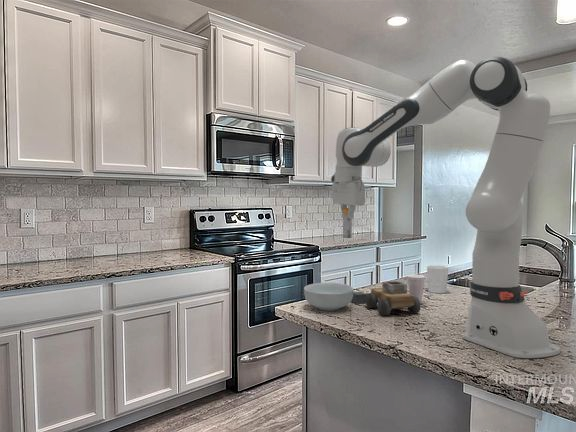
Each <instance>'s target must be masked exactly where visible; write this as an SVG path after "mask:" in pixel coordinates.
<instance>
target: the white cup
mask: <svg viewBox="0 0 576 432" xmlns="http://www.w3.org/2000/svg"><path fill="white" fill-rule="evenodd" d="M448 275H449V267H448V266H445V265H440V264H439V265H436V264H435V265H434V264H433V265H427V266H426V276H427V277H426V278H427V286H428V287H427V289H428V290H427V291H428V293H431V294H446V293H447V290H448V289H447V288H448V287H447V286H448V278H449V276H448Z"/></svg>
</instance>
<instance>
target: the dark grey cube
mask: <svg viewBox="0 0 576 432" xmlns="http://www.w3.org/2000/svg"><path fill="white" fill-rule="evenodd" d="M366 294H367V293H366V292H363V291H353V298H352V300H351V302H352V303H353V304H355V305H366V303H365V296H366Z"/></svg>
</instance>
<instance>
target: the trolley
mask: <svg viewBox="0 0 576 432" xmlns="http://www.w3.org/2000/svg"><path fill="white" fill-rule="evenodd" d="M381 284H382V287H376V288H374V287H373V288H371V289H370V290H371V291H370V292H368V293H367V292H366V293H365V294H366V296H365V303H366V304H365V306H366V307H367V309H376V308H377V311H378V313H379V315H380V316H389V315H390V314H391V312H392V310H394V309H407V310H408V312H409V313H411V314H414V313H419V312H420V311H421V307H422V306H421V304H420V301H419V299H418V298H417V297H414V296H413V295H410V294H409V293H408V283H406V282H405V283H404V282H402V281H399V280H391V281H382V283H381Z"/></svg>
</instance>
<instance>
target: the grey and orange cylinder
mask: <svg viewBox="0 0 576 432" xmlns="http://www.w3.org/2000/svg"><path fill="white" fill-rule="evenodd" d="M348 209H349V208H348V207H347V208H343V218H342V238H344V239H352V238H353V237H352V235H353V234H352V231H353V219H348V218H347V213H348Z"/></svg>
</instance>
